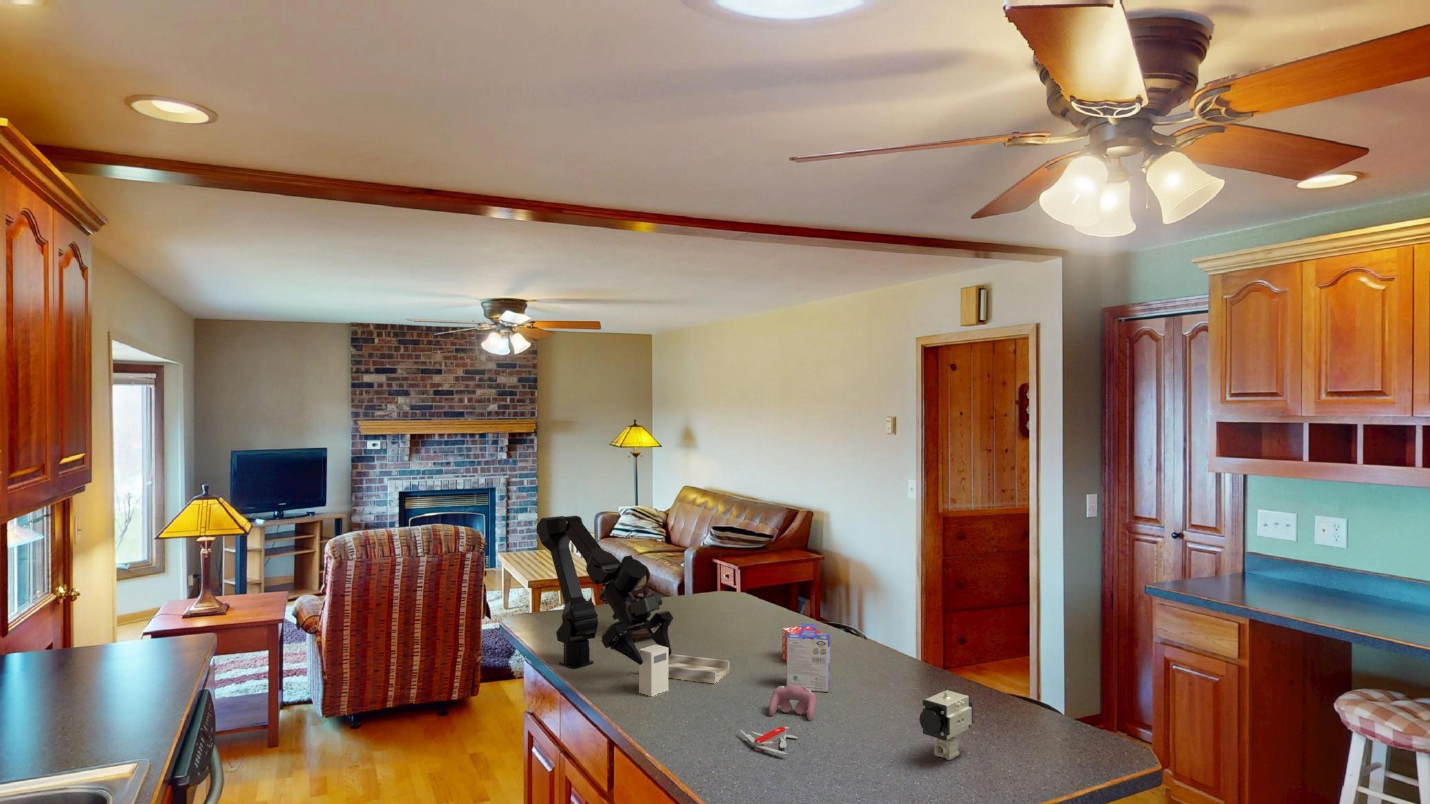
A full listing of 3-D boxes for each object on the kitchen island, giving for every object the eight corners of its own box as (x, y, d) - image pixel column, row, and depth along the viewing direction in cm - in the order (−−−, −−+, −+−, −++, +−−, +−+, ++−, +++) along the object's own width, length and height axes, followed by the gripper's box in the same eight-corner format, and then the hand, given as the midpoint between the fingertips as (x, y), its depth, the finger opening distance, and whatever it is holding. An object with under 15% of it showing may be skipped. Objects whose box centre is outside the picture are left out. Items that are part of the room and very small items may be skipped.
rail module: (638, 693, 191) (639, 649, 192) (655, 687, 196) (656, 644, 196) (651, 697, 189) (651, 652, 189) (668, 691, 193) (668, 647, 193)
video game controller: (816, 723, 177) (819, 689, 180) (812, 720, 173) (815, 685, 176) (771, 717, 180) (774, 684, 183) (766, 714, 177) (770, 680, 180)
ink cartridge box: (830, 685, 197) (830, 623, 197) (829, 693, 192) (829, 629, 192) (788, 682, 199) (788, 621, 199) (786, 690, 194) (786, 627, 194)
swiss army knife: (762, 726, 172) (762, 716, 172) (818, 742, 164) (818, 731, 164) (727, 743, 163) (727, 733, 163) (785, 761, 155) (785, 750, 155)
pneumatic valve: (918, 761, 155) (918, 695, 155) (952, 743, 163) (952, 681, 163) (944, 770, 150) (944, 703, 151) (978, 752, 159) (978, 688, 159)
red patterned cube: (810, 655, 221) (810, 625, 221) (823, 664, 214) (823, 633, 214) (782, 658, 218) (782, 628, 219) (794, 667, 211) (794, 636, 211)
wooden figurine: (632, 626, 250) (632, 559, 250) (670, 634, 241) (670, 565, 242) (597, 637, 238) (597, 567, 238) (637, 646, 229) (637, 573, 230)
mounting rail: (638, 674, 205) (638, 663, 205) (655, 663, 214) (655, 652, 214) (714, 684, 197) (714, 672, 198) (729, 672, 207) (729, 660, 207)
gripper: (609, 589, 188) (644, 647, 181) (667, 576, 203) (701, 630, 195) (586, 618, 193) (619, 676, 186) (645, 604, 208) (677, 657, 200)
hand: (656, 659), depth 192 cm, fingers open, 9 cm apart
